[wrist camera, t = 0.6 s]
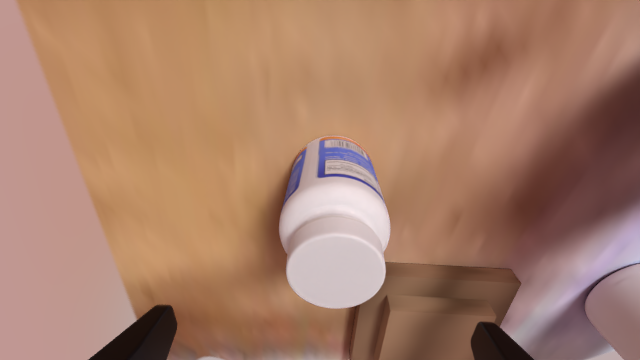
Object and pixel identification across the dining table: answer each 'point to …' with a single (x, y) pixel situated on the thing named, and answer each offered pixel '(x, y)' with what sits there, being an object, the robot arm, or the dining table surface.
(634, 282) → the pill bottle
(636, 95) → the dining table surface
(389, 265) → the walnut stand
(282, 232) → the pill bottle
